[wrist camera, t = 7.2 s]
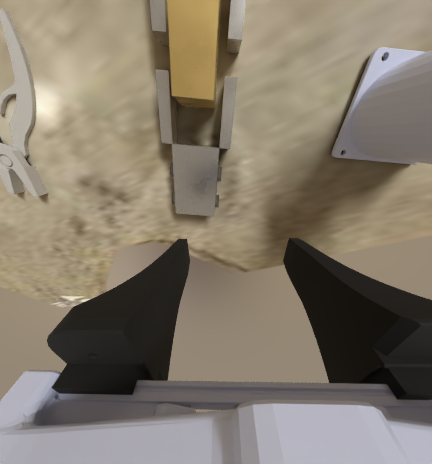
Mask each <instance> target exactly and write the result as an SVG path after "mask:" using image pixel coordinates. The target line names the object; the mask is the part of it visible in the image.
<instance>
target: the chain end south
mask: <svg viewBox="0 0 432 464" xmlns="http://www.w3.org/2000/svg"><path fill="white" fill-rule="evenodd" d="M245 5H246V0H231V3H230V16H229V29H228V42H227V52H228V53H237V54H239V50H240V45H241V41H242V33H243V24H244V14H245ZM150 11H151V23H152V31H153V33H154V34H155V36H156V37H157V39H158V41H159V42H160V44H161V45H162V46H169V26H168V4H167V0H150Z"/></svg>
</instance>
